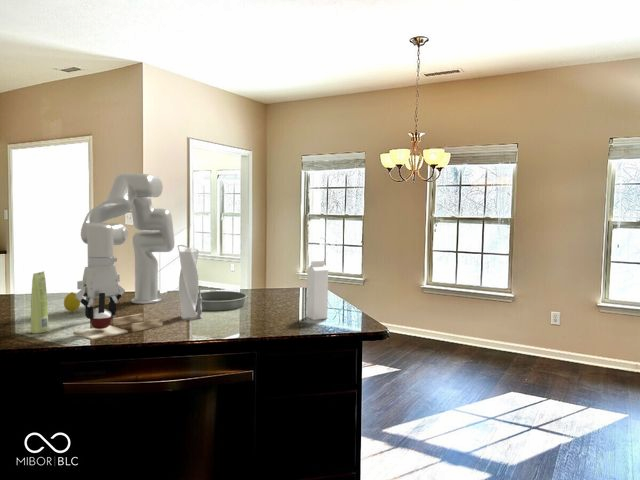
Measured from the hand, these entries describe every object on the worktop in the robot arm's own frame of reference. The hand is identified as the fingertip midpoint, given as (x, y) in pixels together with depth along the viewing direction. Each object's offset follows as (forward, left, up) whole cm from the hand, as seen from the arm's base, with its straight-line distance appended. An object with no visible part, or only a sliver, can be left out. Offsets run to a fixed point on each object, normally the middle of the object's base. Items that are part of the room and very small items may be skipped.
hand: (101, 316), depth 149 cm
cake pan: (-56, -8, -6) cm, 57 cm away
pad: (0, 0, -5) cm, 5 cm away
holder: (-13, 0, -5) cm, 14 cm away
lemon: (-8, -38, -6) cm, 39 cm away
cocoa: (0, 0, -4) cm, 4 cm away
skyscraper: (-33, +2, -6) cm, 33 cm away
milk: (-65, +39, -6) cm, 76 cm away
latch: (-6, -14, -5) cm, 16 cm away
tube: (+12, -16, -6) cm, 21 cm away
